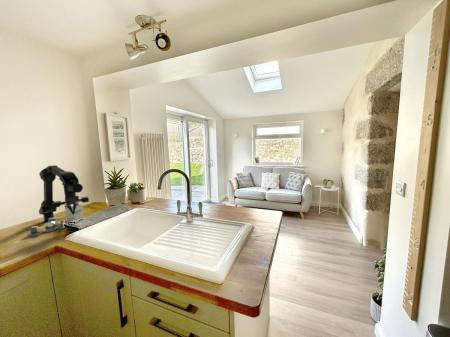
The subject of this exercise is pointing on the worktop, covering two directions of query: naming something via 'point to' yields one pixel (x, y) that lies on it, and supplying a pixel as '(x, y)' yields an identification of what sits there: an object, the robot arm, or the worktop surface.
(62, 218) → the knob
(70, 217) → the supplement box
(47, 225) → the tribrach
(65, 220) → the knob
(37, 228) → the knob
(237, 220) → the worktop surface
